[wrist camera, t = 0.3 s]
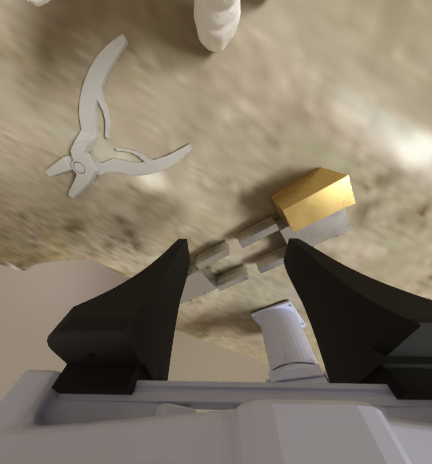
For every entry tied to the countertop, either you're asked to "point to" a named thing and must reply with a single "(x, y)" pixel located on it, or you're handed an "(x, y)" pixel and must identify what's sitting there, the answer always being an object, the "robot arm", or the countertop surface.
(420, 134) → the countertop surface
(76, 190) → the pliers
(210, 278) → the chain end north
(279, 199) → the brushed brass bar
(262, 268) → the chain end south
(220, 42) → the dinosaur statue
